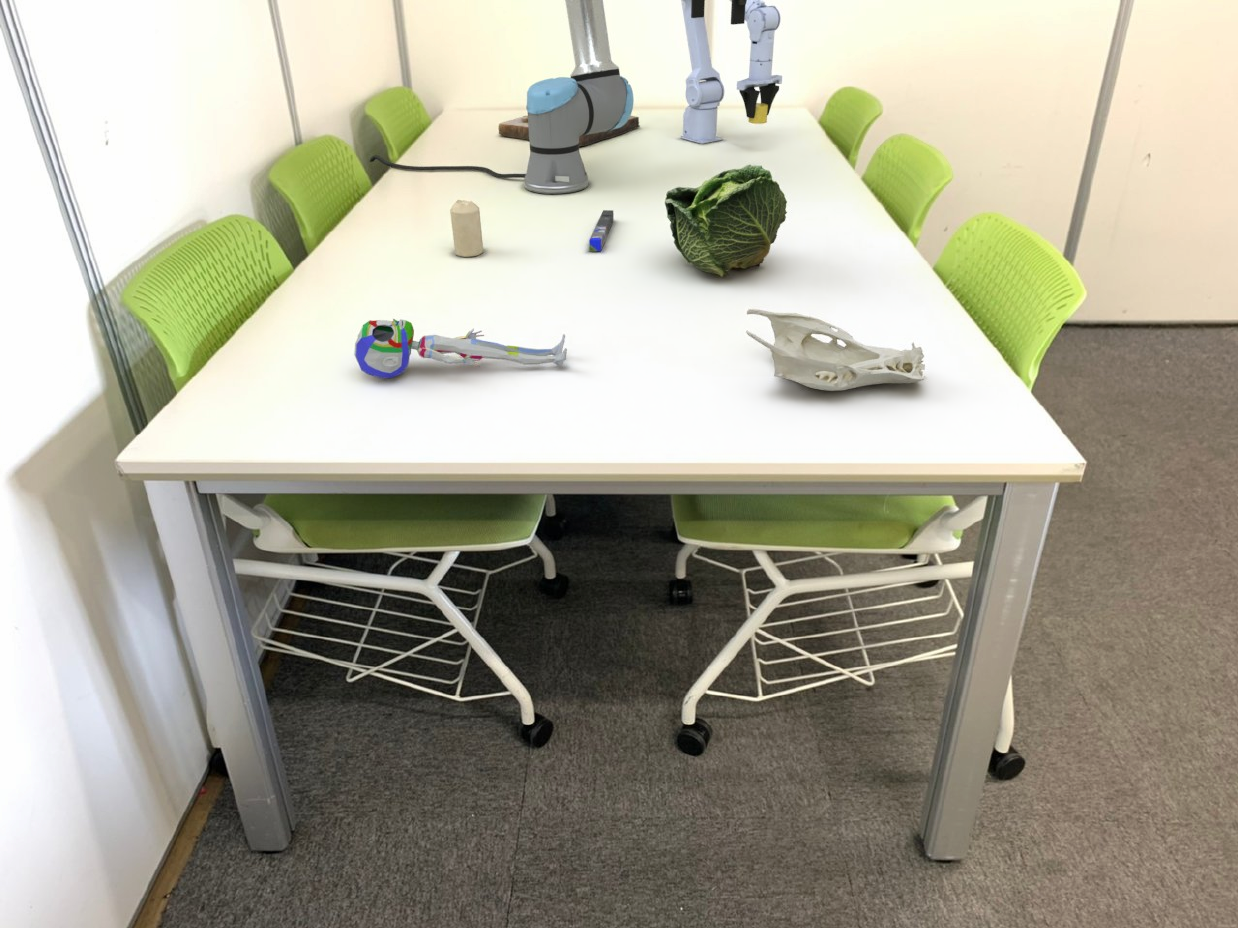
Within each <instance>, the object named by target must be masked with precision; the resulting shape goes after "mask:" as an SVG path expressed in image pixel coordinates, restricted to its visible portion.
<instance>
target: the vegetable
mask: <svg viewBox="0 0 1238 928" xmlns="http://www.w3.org/2000/svg"><path fill="white" fill-rule="evenodd" d="M665 196H666V197H665V199H664V205H665V208H666V209H665V210H666V218H667V219H668V221H669V222H670V224H669V228H670V231H671V236H672V238H673V239H674V240H673V243H674V245H675V247H676V249H677V250H678V252H680V255H681V256H682V257H683V258H684V259H685V261H686V262H687V263H688V264H689V263H691V264H692V265H693V266H694V267H695V268H696V269H699V270H700V271H702V272H704V273H708V274H714V275H715V274H716V275H718V276H719V277H721V278H723V277H724V276H730V274H729V273H728V272H729V271H732V270H734V269H740V268H742V269H747V268H748V267H754V268H756V267H757V268H760V266H761V264H763V263H764V261H765V258H766V257H767V256H768V255H769V253H770V250H771V245H772V244H774V243H775V241H776V239H777V236H778V235H777V234H778V231H779V229H780V227H781V225H782V224H783V223H784V222H786V218H787V216H786V214H787V213H788V211H787V203H788V201H787V199H786V196H785V194H784V192H783V191H782V189H781V188H780V184H779V183H778V181H777V180H774V179H773V176H772V173H771V171H770V170H768V169H765V168H763V165H755V164H754V165H751V164H748V165H745V166H743V167H742V168H732V169H729V170H723V171H721V172H720V173H718V174H716V175H714V176H713V177H711V178H709V179H707V180H704V181H703V182H702V184H701V185H700V186H698V187H684V186H677V187H674V188H672V189H670V190H668V191H667V192H666V194H665Z"/></svg>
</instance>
